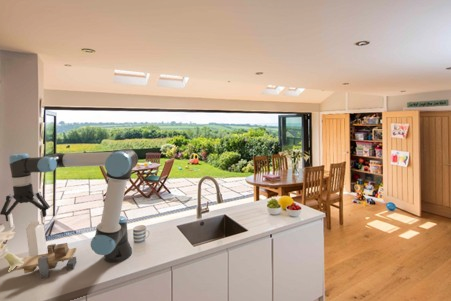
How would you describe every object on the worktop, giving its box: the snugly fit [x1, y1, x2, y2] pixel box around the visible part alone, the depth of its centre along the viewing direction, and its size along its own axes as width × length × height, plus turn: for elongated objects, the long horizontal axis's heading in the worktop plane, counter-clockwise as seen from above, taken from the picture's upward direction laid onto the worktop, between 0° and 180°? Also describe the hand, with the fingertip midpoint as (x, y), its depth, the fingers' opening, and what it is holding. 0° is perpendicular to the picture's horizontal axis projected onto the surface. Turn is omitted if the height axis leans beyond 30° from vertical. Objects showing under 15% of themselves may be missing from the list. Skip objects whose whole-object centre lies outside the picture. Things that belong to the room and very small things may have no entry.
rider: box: [54, 242, 69, 258], centre depth 133 cm, size 5×5×5 cm
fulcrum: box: [38, 243, 57, 280], centre depth 132 cm, size 4×15×11 cm, turn 19°
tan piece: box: [16, 247, 77, 274], centre depth 132 cm, size 24×11×9 cm, turn 108°
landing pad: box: [66, 256, 77, 271], centre depth 136 cm, size 3×7×4 cm, turn 18°
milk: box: [25, 220, 48, 257], centre depth 145 cm, size 6×6×22 cm
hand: (27, 224), depth 127 cm, fingers open, 13 cm apart
